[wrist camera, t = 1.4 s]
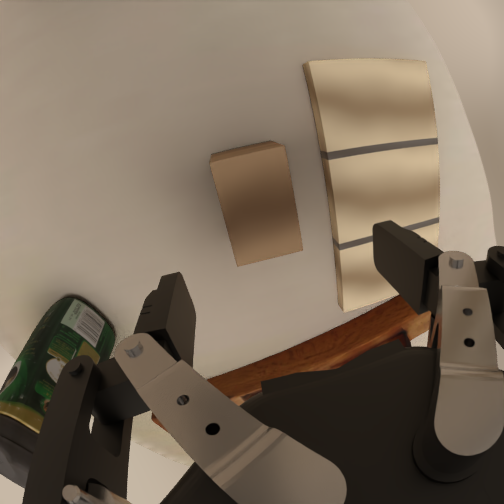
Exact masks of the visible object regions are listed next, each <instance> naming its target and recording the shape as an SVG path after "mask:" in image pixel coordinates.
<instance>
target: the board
mask: <svg viewBox="0 0 504 504" xmlns="http://www.w3.org/2000/svg"><path fill="white" fill-rule="evenodd" d="M303 68H304V72H305V77H306V81H307V85H308V90H309V94H310V99H311V104H312V108H313V113H314V118H315V123H316V128H317V134H318V139H319V145H320V150H321V156H322V162H323V168H324V175H325V181H326V188H327V195H328V202H329V210H330V218H331V226H332V235H333V244H334V254H335V264H336V276H337V289H338V304H339V306H340V307H341V309H342V311H343V312H344V313H345V312H348V311H351V310H355V309H358V308H361V307H364V306H367V305H370V304H373V303H376V302H379V301H382V300H384V299H387V298H390V297H393V296H396V295H398V294H399V293H398V292H397V291H396V290H395V289H394V288H393V287H392V286H391V285H390V284H389V283H388V281H387V280H386V279H385V278H384V277H383V276H382V275H381V274H380V273H379V272H378V271H377V269H376V267H375V264H374V259H373V233H372V228H373V225H374V224H375V223H379V222H383V221H387V220H392V221H393V222H395V223H396V224H398V225H399V226H401V227H402V228H405V229H408V230H411V231H414V232H415V233H417V234H418V235H420V236H421V238H422V237H423V238H424V239H426V240H427V242H430V243H431V244H433V245H434V246H436V247H437V246H438V232H439V208H440V177H439V154H438V140H437V129H436V120H435V112H434V104H433V98H432V91H431V86H430V80H429V75H428V70H427V65H426V61H418V60H404V59H376V58H361V59H332V60H318V61H308V62H307V63H305V64H303Z"/></svg>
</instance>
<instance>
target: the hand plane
mask: <svg viewBox="0 0 504 504" xmlns="http://www.w3.org/2000/svg"><path fill="white" fill-rule="evenodd" d="M430 316H431V312H430V311H428V312H425V313H423V314H420V315H418V314H417V313H416V312H415V311H414V310H413V309H412V308H411V306H410V305H409V304H408V303H407V302H406V301H405V300H404V299H403V298H402V297H401V295H398V296H396V297H394V298H392V299H391V300H390V301H387V302H385V303H383V304H381V305H379V306H377V307H375V308H374V309H372V310H370V311H368V312H367V313H365V314H362V315H360V316H358V317H356V318H354V319H352V320H350V321H349V322H347V323H345V324H342V325H340V326H338V327H336V328H334V329H332V330H330V331H328V332H326V333H323V334H321V335H319V336H317V337H314V338H312V339H310V340H308V341H305V342H303V343H301V344H298V345H296V346H294V347H291V348H289V349H287V350H285V351H282V352H280V353H277V354H275V355H272V356H269V357H267V358H265V359H262V360H260V361H257V362H254V363H252V364H249V365H246V366H244V367H241V368H239V369H235V370H233V371H230V372H227V373H225V374H222V375H219V376H216V377H213V378H210V379H207V381H208V382H209V383H211V384H212V385H213V386H214V387H215V388H217V389H218V390H219V391H220V392H222V393H223V394H224V395H225V396H227V397H228V398H229V399H230V400H232V401H233V402H234V403H236V404H237V405H238V406H240V405H241V404H242V403H244V402H245V401H246V400H248V399H249V398H251V397H253V396H255V395H257V394H259V393H261V392H262V387H261V382H260V381H264V380H269V379H273V378H277V377H281V376H285V375H289V374H293V373H297V372H309V371H321V370H331V369H336V368H339V367H341V366H343V365H344V364H346V363H348V362H349V361H351V360H353V359H355V358H356V357H358V356H359V355H361V354H363V353H364V352H366V351H368V350H370V349H373V348H376V347H378V346H381V345H384V344H386V343H389V342H392V341H394V340H397V339H399V340H400V342H401V343H402V345H403V346H404V347H411V342H410V341H411V340H412V339H414V338H415V337H417V336H419V335H420V334H422V333H424V332H426V331H427V330H429V322H430ZM151 419H152V420H153V422H155V423H156V424H157V425H159V426H160V427H161V428H163V429H164V430H165V431H167V430H166V429H165V427H164V426H163V425H162V424H161V422H160V421H159V420H158V419H157V417H156V416H155V415H154V414H153V412H152V418H151ZM167 432H168V431H167ZM168 433H169V432H168Z"/></svg>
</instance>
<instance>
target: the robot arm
mask: <svg viewBox="0 0 504 504" xmlns="http://www.w3.org/2000/svg"><path fill="white" fill-rule="evenodd" d="M372 233H373V259H374V264H375V267H376V269H377V271H378V272H379V273H380V274H381V275H382V276H383V277H384V278H385V279H386V280H387V281H388V283H389V284H390V285H391V286H392V287H393V288H394V289H395V290H396V291H397V292H398V293H399V294H400V295H401V297H402V298H403V299H404V300H405V301H406V302H407V303H408V304H409V305H410V306H411V308H412V309H413V310H414V311H415V312H416V313H417V314H418V315H420V314H423V313H425V312H428V311H430V312H431V316H430V322H429V333H428V343H427V347H404V346H403V345H402V343H401V342H400V340H399V339H397V340H394V341H392V342H389V343H386V344H384V345H381V346H378V347H376V348H373V349H370V350H368V351H366V352H364V353H363V354H361V355H359V356H358V357H356V358H355V359H353V360H351V361H349V362H348V363H346V364H344V365H343V366H341V367H339V368H336V369H331V370H321V371H309V372H297V373H293V374H289V375H285V376H281V377H277V378H273V379H269V380H264V381H260V382H261V387H262V392H261V393H259V394H257V395H255V396H253V397H251V398H249V399H248V400H246V401H245V402H244V403H242V404H241V405H240V406H238V405H237V404H236V403H234V402H233V401H232V400H230V399H229V398H228V397H227V396H225V395H224V394H223V393H222V392H220V391H219V390H218V389H217V388H215V387H214V386H213V385H212V384H211V383H209V382H208V381H207V380H206V379H205V378H203V377H202V376H201V375H200V374H199V373H198V372H196V371H195V370H194V369H193V354H194V339H195V325H196V313H195V308H194V305H193V302H192V299H191V297H190V294H189V292H188V289H187V287H186V284H185V281H184V279H183V276H182V274H181V273H180V272H176V273H172V274H168V275H164V276H162V277H161V279H160V282H159V285H158V288H157V290H153V291H152V292H151V293H150V294H149V295H148V296H147V297H146V299H145V301H144V304H143V308H142V310H141V313H140V316H139V319H138V321H137V324H136V327H135V331H134V334H133V335H131V336H128V337H127V338H125V339H124V340H122V341H121V342H120V343H119V344H118V346H117V347H116V349H115V352H114V358H111V359H109V360H106V361H104V362H101V363H99V364H95V362H94V361H93V359H92V358H91V357H90V356H88V355H80V356H77V357H75V358H73V359H71V360H70V361H69V362H68V363H66V365H65V366H64V367H63V369H62V371H61V373H60V375H59V378H58V380H57V383H56V386H55V388H54V391H53V394H52V396H51V399H50V402H49V405H48V407H47V410H46V413H45V416H44V419H43V422H42V426H41V429H40V432H39V435H38V439H37V442H36V446H35V449H34V453H33V457H32V460H31V464H30V469H29V473H28V477H27V482H26V487H25V492H24V497H23V503H22V504H131V503H130V502H129V501H127V498H126V497H127V478H128V462H129V451H130V440H131V430H132V421H133V417H134V416H136V415H139V414H142V413H144V412H147V411H150V410H151V411H152V412H153V414H154V415H155V416H156V417H157V419H158V420H159V421H160V422H161V424H162V425H163V426H164V427H165V429H166V430H167V431H168V432H169V433H170V435H171V436H172V437H173V438H174V439H175V440H176V442H177V443H178V444H179V445H180V446H181V447H182V448H183V449H184V451H185V452H186V453H187V454H188V455H189V456H190V457H191V458H192V459H193V460H194V461H195V462H194V463H193V464H192V465H191V467H190V468H189V469H188V470H187V472H186V473H185V474H184V475H183V477H182V478H181V479H180V480H179V482H178V483H177V484H176V485H175V486H174V488H173V489H172V490H171V491H170V492H169V494H168V495H167V496H166V497H165V498H164V499H163V501H162V502H161V503H160V504H504V371H502V370H499V369H498V364H497V351H496V342H495V340H496V341H497V342H498V343H499V344H500V345H501V347H502V348H503V349H504V247H503V246H493V247H491V248H489V249H488V253H487V259H486V260H484V261H476V262H474V261H473V259H472V258H471V257H470V256H469V255H467V254H465V253H463V252H459V251H447V252H443V251H441V250H440V249H438V248H437V247H436V246H434V245H433V244H431V243H430V242H427V240H426V239H424V238H423V237H422V238H421V236H420V235H418V234H417V233H415V232H414V231H411V230H408V229H405V228H402V227H401V226H399V225H398V224H396V223H395V222H393V221H392V220H387V221H383V222H379V223H375V224H374V225H373V228H372ZM91 414H92V415H93V416H94V422H93V426H92V431H91V433H90V430H89V422H90V418H91Z"/></svg>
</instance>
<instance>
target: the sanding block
mask: <svg viewBox="0 0 504 504" xmlns="http://www.w3.org/2000/svg"><path fill="white" fill-rule="evenodd" d="M210 167H211V171H212V175H213V178H214V182H215V186H216V190H217V194H218V197H219V201H220V205H221V209H222V212H223V216H224V220H225V223H226V227H227V231H228V234H229V238H230V242H231V245H232V249H233V253H234V256H235V260H236V263H237V267H238V266H242V265H246V264H250V263H255V262H259V261H263V260H267V259H271V258H275V257H279V256H283V255H287V254H291V253H294V252H298V251H302V250H303V246H302V240H301V233H300V227H299V221H298V215H297V209H296V204H295V198H294V192H293V187H292V181H291V176H290V171H289V165H288V160H287V155H286V150H285V146H284V145H281V144H278V143H276V142H273V141H266V142H261V143H257V144H252V145H248V146H243V147H239V148H235V149H230V150H226V151H222V152H218V153H215V154H211V158H210Z"/></svg>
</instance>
